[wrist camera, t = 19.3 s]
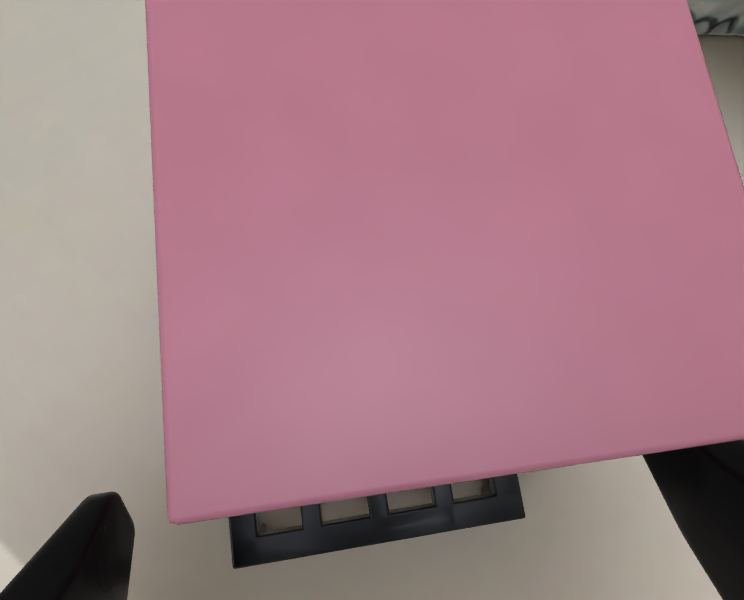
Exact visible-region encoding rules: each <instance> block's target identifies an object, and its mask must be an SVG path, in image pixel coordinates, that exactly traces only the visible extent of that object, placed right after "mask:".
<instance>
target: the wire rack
mask: <svg viewBox="0 0 744 600" xmlns="http://www.w3.org/2000/svg"><path fill="white" fill-rule="evenodd" d="M489 483H490V486H486V487H482V488H481V490H482V495H476V496H470V497H464V498H458V499H453V494H452V488H451V484H445V485H438V486H432V487H430V491H431V497H432V503H429V504H423V505H417V506H411V507H405V508H399V509H393V510H389V509H388V502H387V495H386V493H385V494H378V495H372V496H367V503H368V511H369V514H364V515H358V516H352V517H346V518H340V519H334V520H329V521H323V517H322V509H321V503H319V504H312V505H305V506H300V507H301V516H302V525H299V526H293V527H287V528H281V529H275V530H270V531H266V525H265V524H260V525H259V516H258V513H252V514H246V515H239V516H232V517H229V527H230V540H231V552H232V565H233V568H234V569H237V568H243V567H249V566H254V565H260V564H266V563H271V562H277V561H283V560H288V559H294V558H300V557H305V556H311V555H317V554H323V553H328V552H334V551H340V550H345V549H351V548H357V547H362V546H368V545H374V544H379V543H385V542H391V541H397V540H402V539H408V538H414V537H419V536H425V535H431V534H436V533H442V532H448V531H453V530H459V529H465V528H471V527H476V526H482V525H488V524H493V523H499V522H505V521H511V520H517V519H523V518H525V512H524V507H523V502H522V497H521V492H520V486H519V481H518V476H517V474H511V475H505V476H498V477H491V478H489Z"/></svg>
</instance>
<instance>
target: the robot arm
mask: <svg viewBox="0 0 744 600" xmlns="http://www.w3.org/2000/svg"><path fill="white" fill-rule="evenodd" d="M643 457H644V459H645V461H646V463H647V465H648V467H649V469H650V471H651V473H652V475H653V477H654V479H655V481H656V483H657V485H658V487H659V489H660V491H661V493H662V495H663V497H664V499H665V501H666V503H667V505H668V507H669V509H670V511H671V513H672V515H673V517H674V519H675V521H676V523H677V525H678V527H679V529H680V531H681V532H682V534H683V536H684V538H685V539H686V541H687V543H688V544H689V546H690V548H691V549H692V551H693V553H694V554H695V556H696V557H697V559H698V561H699V562H700V564H701V565H702V567H703V569H704V570H705V572H706V573H707V575H708V577H709V578H710V580H711V581H712V583H713V585H714V586H715V588H716V589H717V591H718V593H719V594H720V596H721V597H722V599H723V600H744V440H737V441H730V442H724V443H717V444H710V445H704V446H697V447H691V448H684V449H677V450H671V451H664V452H657V453H651V454H644V455H643ZM134 537H135V529H134V524H133V521H132V519H131V517H130V515H129V513H128V511H127V509H126V507H125V505H124V503H123V501H122V499H121V497H120V496H119V494H118V493H116V492H106V493H100V494H94V495H90V496H88V497H87V498H86V499H84V500H83V501H82V502H81V504H80V505H79V506H78V507H77V508H76V509H75V510H74V511H73V512H72V514H71V515H70V516H69V517H68V518H67V519H66V520H65V521H64V523H63V524H62V525H61V526H60V527H59V528H58V529H57V530H56V531H55V533H54V534H53V535H52V536H51V537H50V538H49V539H48V540H47V542H46V543H45V544H44V545H43V546H42V547H41V548H40V549H39V550H38V552H37V553H36V554H35V555H34V556H33V557H32V558H31V559H30V561H29V562H28V563H27V564H26V565H25V566H24V567H23V568H22V570H21V571H20V572H19V573H18V574H17V575H16V576H15V577H14V578H13V580H12V581H11V582H10V583H9V584H8V585H7V586H6V588H5V589H4V590H3V591H2V592H1V593H0V600H127V596H128V587H129V579H130V571H131V562H132V554H133V546H134Z"/></svg>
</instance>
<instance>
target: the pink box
mask: <svg viewBox="0 0 744 600" xmlns="http://www.w3.org/2000/svg"><path fill="white" fill-rule="evenodd" d="M145 7H146V30H147V53H148V76H149V99H150V122H151V145H152V168H153V191H154V214H155V237H156V260H157V283H158V306H159V330H160V353H161V376H162V399H163V422H164V445H165V468H166V491H167V514H168V519H169V521H170V523H173V524H177V525H179V524H186V523H192V522H199V521H206V520H212V519H219V518H226V517H232V516H239V515H246V514H252V513H259V512H265V511H272V510H279V509H285V508H292V507H299V506H305V505H312V504H319V503H325V502H332V501H339V500H345V499H352V498H358V497H365V496H372V495H378V494H385V493H392V492H398V491H405V490H412V489H418V488H425V487H432V486H438V485H445V484H451V483H458V482H465V481H471V480H478V479H485V478H491V477H498V476H505V475H511V474H518V473H524V472H531V471H538V470H544V469H551V468H558V467H564V466H571V465H578V464H584V463H591V462H598V461H604V460H611V459H617V458H624V457H631V456H637V455H644V454H651V453H657V452H664V451H671V450H677V449H684V448H691V447H697V446H704V445H710V444H717V443H724V442H730V441H737V440H744V186H743V183H742V179H741V176H740V173H739V170H738V166H737V163H736V160H735V156H734V153H733V150H732V147H731V143H730V140H729V137H728V134H727V130H726V127H725V124H724V120H723V117H722V114H721V111H720V107H719V104H718V101H717V98H716V94H715V91H714V88H713V85H712V81H711V78H710V75H709V71H708V68H707V65H706V62H705V58H704V55H703V52H702V49H701V45H700V42H699V39H698V35H697V32H696V29H695V26H694V22H693V19H692V16H691V13H690V9H689V6H688V3H687V0H145Z"/></svg>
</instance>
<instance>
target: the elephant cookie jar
mask: <svg viewBox="0 0 744 600" xmlns="http://www.w3.org/2000/svg"><path fill="white" fill-rule="evenodd" d="M687 3H688V6H689V9H690V13H691V16H692V19H693V22H694V26H695V29H696V32H697V35H709V34H711V35H740V36H744V0H687Z"/></svg>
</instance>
